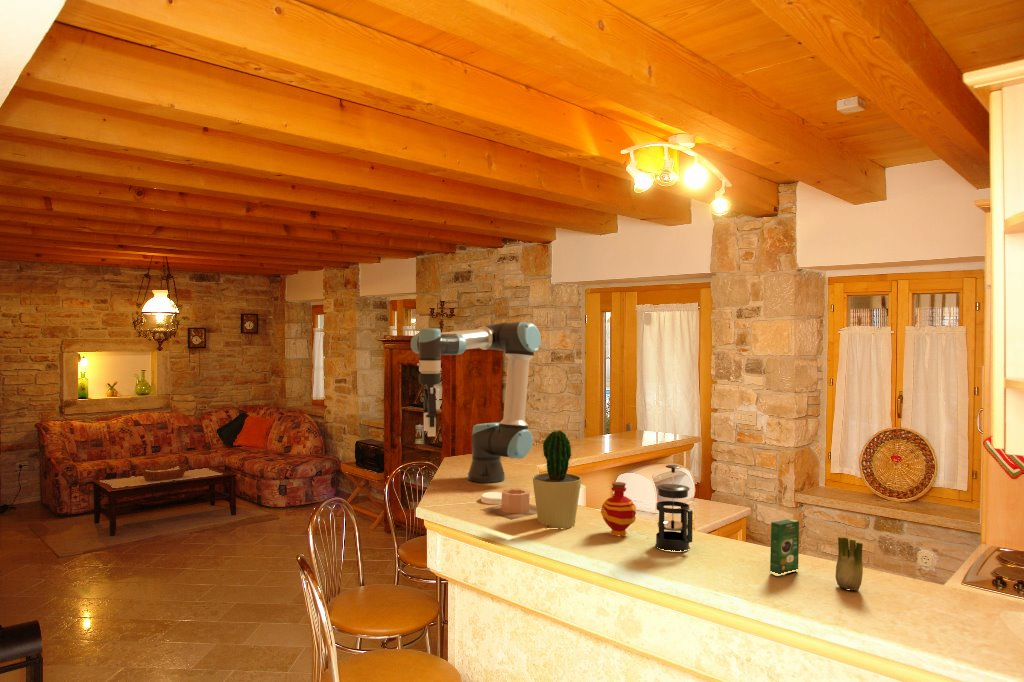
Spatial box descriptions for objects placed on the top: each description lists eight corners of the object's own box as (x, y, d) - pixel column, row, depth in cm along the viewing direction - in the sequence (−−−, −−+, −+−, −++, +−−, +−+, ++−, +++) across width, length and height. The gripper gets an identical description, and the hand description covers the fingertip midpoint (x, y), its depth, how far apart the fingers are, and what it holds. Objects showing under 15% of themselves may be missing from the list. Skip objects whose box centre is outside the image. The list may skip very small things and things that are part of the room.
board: (519, 504, 237) (519, 501, 237) (551, 513, 225) (551, 510, 225) (479, 513, 225) (479, 509, 225) (511, 523, 213) (511, 519, 213)
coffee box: (789, 568, 173) (790, 517, 173) (799, 572, 171) (800, 520, 171) (769, 574, 169) (769, 521, 169) (779, 577, 167) (779, 524, 166)
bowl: (516, 505, 232) (516, 487, 232) (534, 510, 225) (535, 492, 225) (496, 509, 226) (496, 491, 226) (514, 514, 219) (514, 496, 219)
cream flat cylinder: (506, 501, 244) (507, 491, 244) (511, 507, 234) (511, 497, 234) (479, 501, 242) (479, 492, 242) (482, 508, 232) (482, 498, 232)
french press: (646, 545, 192) (647, 463, 192) (669, 540, 197) (670, 460, 197) (678, 556, 182) (679, 470, 182) (701, 550, 187) (702, 467, 187)
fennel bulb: (865, 593, 157) (866, 541, 157) (845, 594, 156) (845, 542, 156) (851, 584, 162) (851, 534, 162) (831, 585, 162) (831, 534, 162)
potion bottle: (614, 526, 210) (615, 478, 210) (642, 533, 203) (643, 483, 203) (593, 533, 203) (594, 483, 203) (621, 541, 196) (622, 489, 196)
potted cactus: (565, 515, 223) (566, 424, 223) (590, 527, 209) (591, 430, 209) (523, 521, 216) (524, 426, 216) (546, 533, 202) (547, 433, 202)
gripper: (415, 370, 248) (415, 428, 248) (422, 374, 224) (422, 439, 224) (436, 370, 250) (436, 428, 250) (444, 374, 225) (444, 438, 226)
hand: (429, 433), depth 237 cm, fingers open, 13 cm apart
